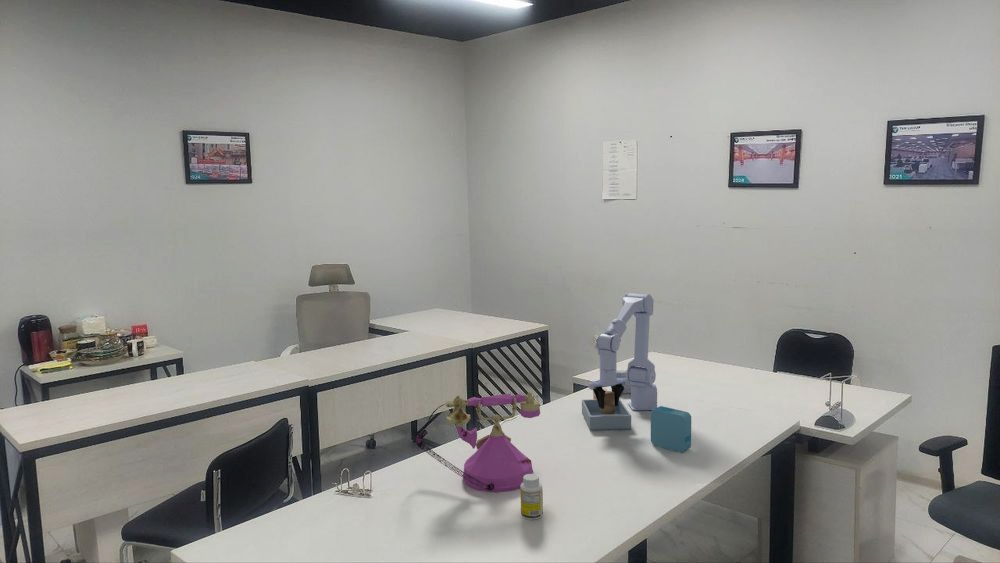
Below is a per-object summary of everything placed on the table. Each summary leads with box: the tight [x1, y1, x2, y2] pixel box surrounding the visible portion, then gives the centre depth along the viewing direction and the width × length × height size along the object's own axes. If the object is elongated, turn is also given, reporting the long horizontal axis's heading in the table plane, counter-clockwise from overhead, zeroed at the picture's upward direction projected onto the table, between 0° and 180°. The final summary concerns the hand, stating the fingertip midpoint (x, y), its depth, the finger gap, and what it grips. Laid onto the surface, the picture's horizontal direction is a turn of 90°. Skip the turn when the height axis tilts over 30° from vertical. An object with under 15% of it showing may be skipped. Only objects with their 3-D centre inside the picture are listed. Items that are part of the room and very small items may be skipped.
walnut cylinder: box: [600, 390, 615, 415], centre depth 223 cm, size 5×5×7 cm
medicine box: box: [616, 369, 631, 394], centre depth 263 cm, size 8×4×9 cm, turn 84°
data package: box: [650, 405, 692, 454], centre depth 203 cm, size 12×4×12 cm, turn 45°
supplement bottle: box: [519, 473, 544, 521], centre depth 161 cm, size 6×6×10 cm
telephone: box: [415, 391, 541, 493], centre depth 181 cm, size 36×22×25 cm, turn 100°
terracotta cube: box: [592, 388, 608, 400], centre depth 250 cm, size 5×5×5 cm
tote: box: [581, 398, 632, 432], centre depth 229 cm, size 14×19×5 cm
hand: (608, 406), depth 223 cm, fingers closed on walnut cylinder, 5 cm apart
